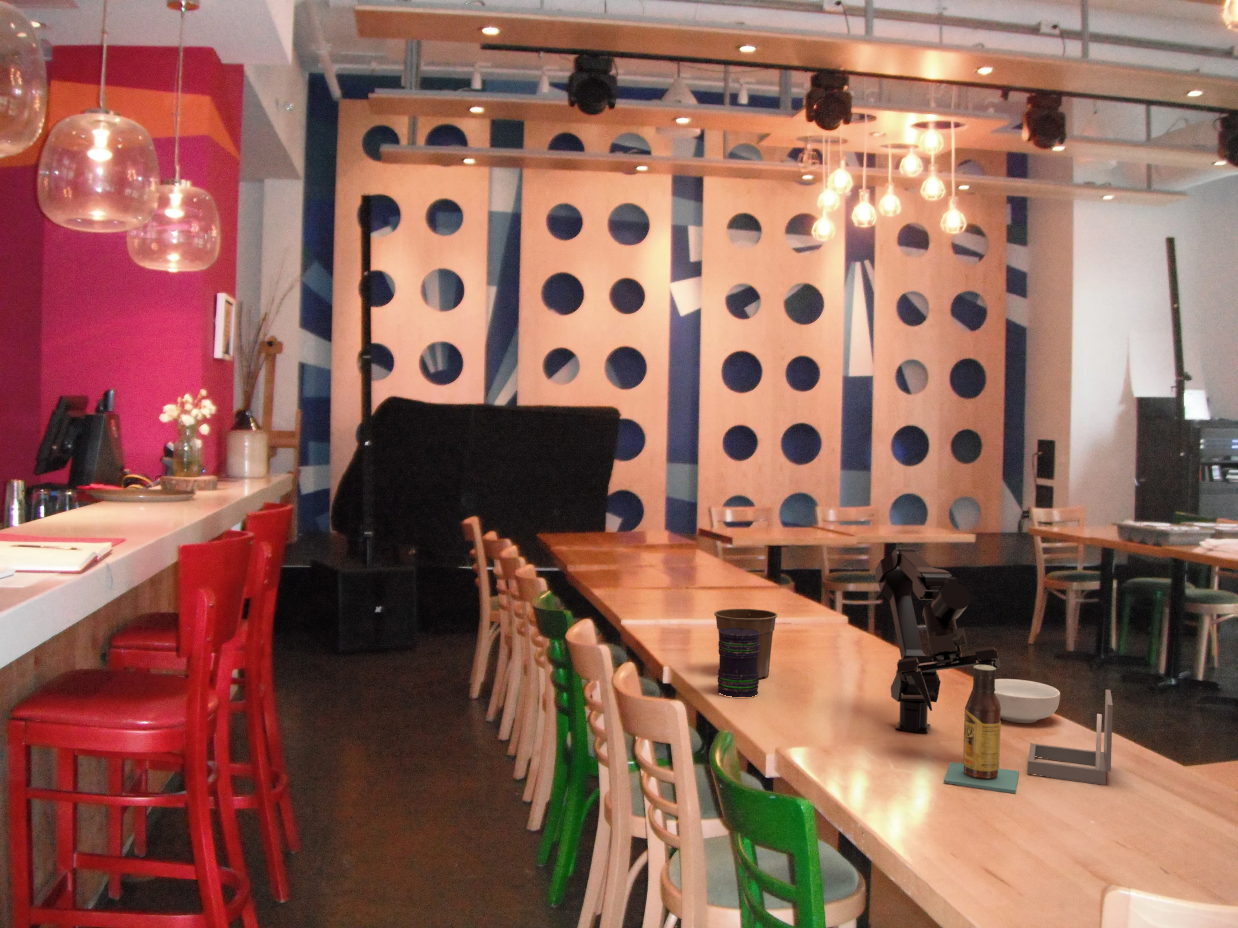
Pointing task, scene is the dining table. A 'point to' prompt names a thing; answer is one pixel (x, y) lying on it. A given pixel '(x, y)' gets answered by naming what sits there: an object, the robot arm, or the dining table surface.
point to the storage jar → (738, 662)
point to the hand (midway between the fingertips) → (955, 707)
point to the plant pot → (755, 621)
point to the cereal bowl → (1025, 700)
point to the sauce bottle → (982, 726)
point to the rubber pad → (1002, 782)
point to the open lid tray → (1077, 755)
